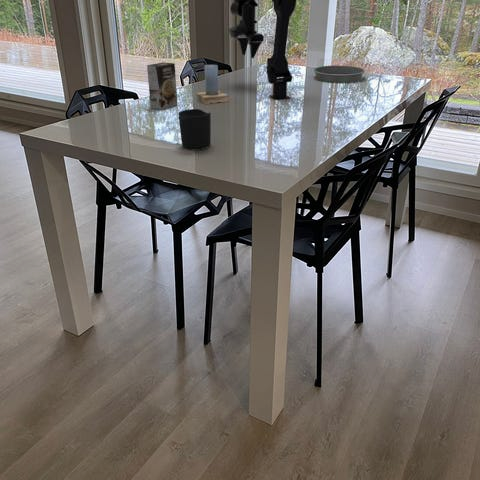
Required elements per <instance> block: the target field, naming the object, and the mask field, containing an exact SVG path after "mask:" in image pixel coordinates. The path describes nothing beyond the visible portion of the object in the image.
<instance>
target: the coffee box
mask: <svg viewBox="0 0 480 480" xmlns="http://www.w3.org/2000/svg"><path fill="white" fill-rule="evenodd" d="M146 68H147V69H146V71H147V82H148V93H149V104H150V106H149V107H150V108H151V109H154V110H159V111H164V110H167V109H171V108H175V107H177V106H178V93H177V80H176V79H177V78H176V64H175V63H173V62H164V61H163V62H158V63H152V64H147V65H146Z"/></svg>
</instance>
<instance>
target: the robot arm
mask: <svg viewBox="0 0 480 480" xmlns="http://www.w3.org/2000/svg"><path fill="white" fill-rule="evenodd" d="M271 1H272V3H273V11H274V13H275V15H276V18H275V19H276V20H275V30H274V40H273V48H272V49H273V50H272V52H273V53H272V55H271V57H268V58H267V61H266V62H267V64H266V67H265V68H266V75H267V81H268V83H269V84H271V85H272V94H270V95H269V97H270V98H273V99H274V100H283V99H285V100H286V99H290V98H291V97H290V96H289V95H287V94H288V93H287V91H288V83H292V81H293V76H292V74H291V72H290V69H289V62H288V59H287V57H286V52H287V44H288V43H287V42H288V35H289V25H290V18H291V16H292V15H293V13H294V12H295V9H296V4H297V0H271ZM256 7H259V4H258V3H257V1H256V0H234V1H233V2H232V3H231V5H230V9H229V10H230V13H231V14H232V15H233V16H236V17H241V19H240V20H239V22H238V23H239V24H236V25H234V26H232V27H229V28H228V31H229V35H230V38H234V39H235V40H236V41H238V43H239V46H240V50H241V54H242V56H245V55H246V52H247V49H248V45H249V48H250V49H249V50H250V51H249V52H250V58H251V59H254V58H255V56H256V54H257V52H258V50H259V47H260V46H261V45H262V43H263V42H264V41H265V36H264V35H263V34H262V33H259V32H257V30H256V24H258V20H256Z"/></svg>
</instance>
